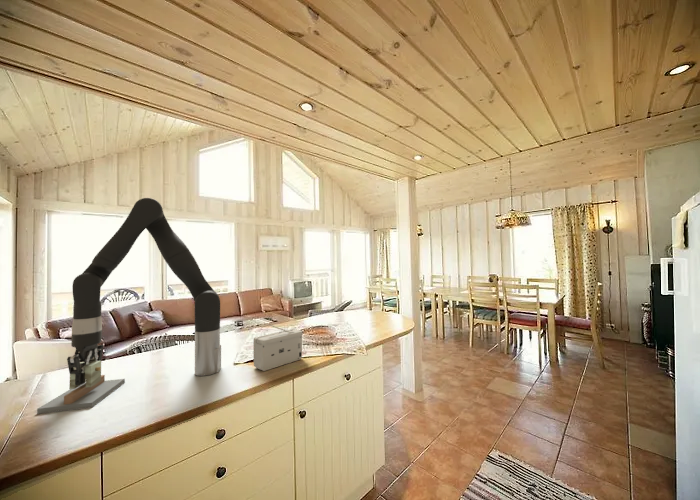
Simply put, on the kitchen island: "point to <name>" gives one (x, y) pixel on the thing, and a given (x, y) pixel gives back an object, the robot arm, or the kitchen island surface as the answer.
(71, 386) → the sage block
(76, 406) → the cleat board
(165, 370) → the kitchen island surface
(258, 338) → the stereo radio cassette player
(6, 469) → the kitchen island surface
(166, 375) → the kitchen island surface
